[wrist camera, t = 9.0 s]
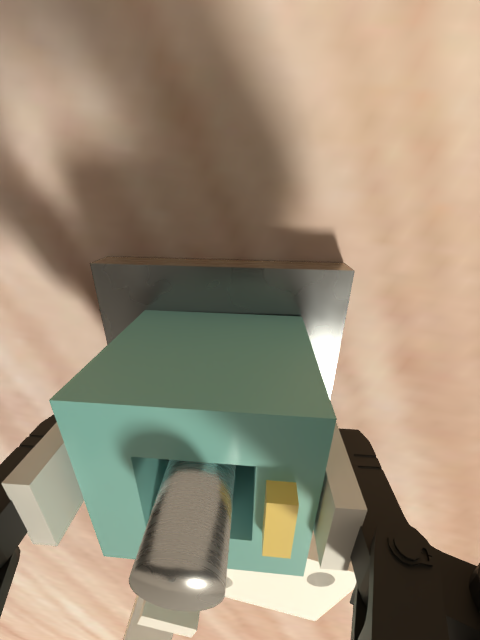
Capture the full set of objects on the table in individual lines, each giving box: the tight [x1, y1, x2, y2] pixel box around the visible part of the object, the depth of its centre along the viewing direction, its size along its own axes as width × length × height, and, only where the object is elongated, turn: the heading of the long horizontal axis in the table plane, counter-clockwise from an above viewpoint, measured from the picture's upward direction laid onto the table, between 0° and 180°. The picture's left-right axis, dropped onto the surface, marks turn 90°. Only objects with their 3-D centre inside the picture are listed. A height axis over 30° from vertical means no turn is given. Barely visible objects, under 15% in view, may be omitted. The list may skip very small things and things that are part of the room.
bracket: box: [123, 530, 356, 640], centre depth 17 cm, size 13×7×8 cm, turn 69°
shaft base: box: [90, 256, 354, 612], centre depth 10 cm, size 11×11×10 cm
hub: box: [49, 310, 336, 577], centre depth 10 cm, size 7×7×7 cm
